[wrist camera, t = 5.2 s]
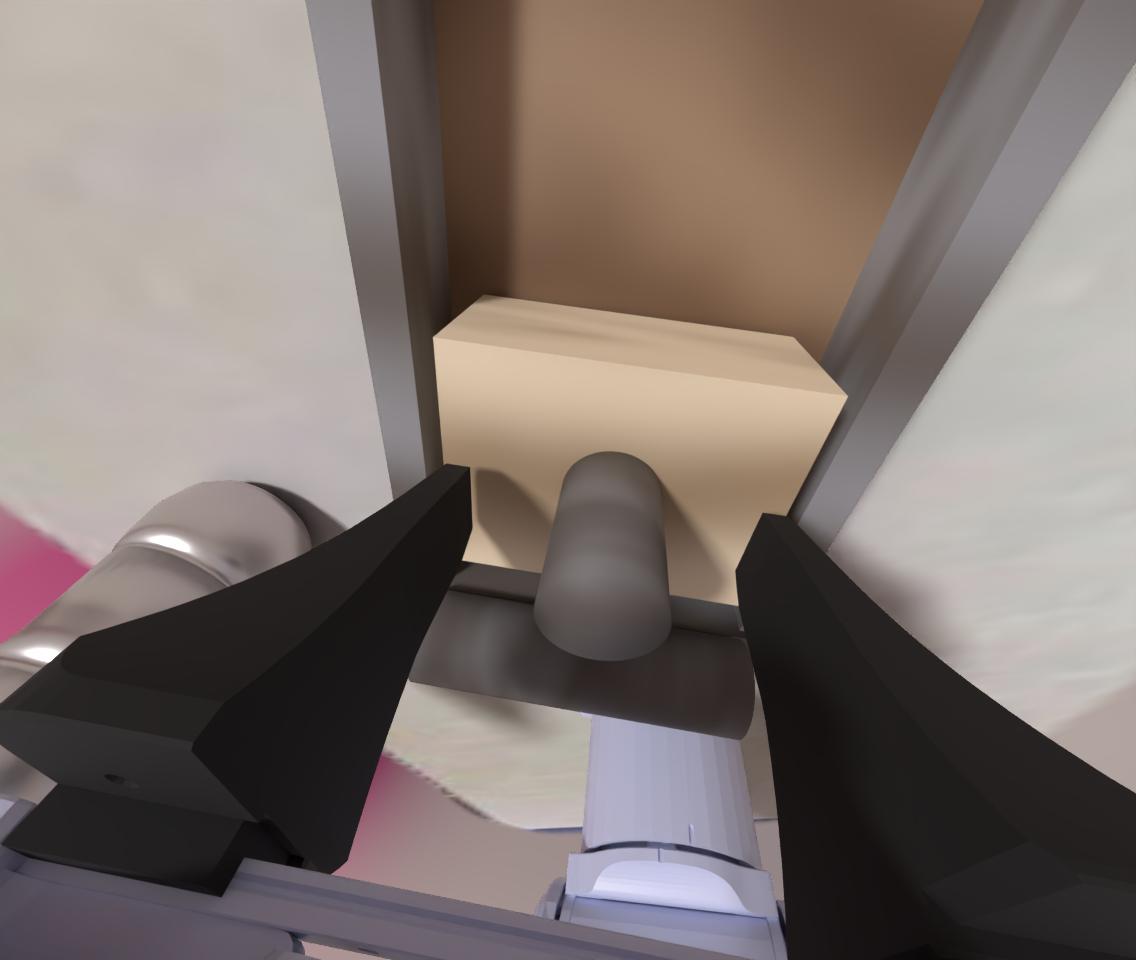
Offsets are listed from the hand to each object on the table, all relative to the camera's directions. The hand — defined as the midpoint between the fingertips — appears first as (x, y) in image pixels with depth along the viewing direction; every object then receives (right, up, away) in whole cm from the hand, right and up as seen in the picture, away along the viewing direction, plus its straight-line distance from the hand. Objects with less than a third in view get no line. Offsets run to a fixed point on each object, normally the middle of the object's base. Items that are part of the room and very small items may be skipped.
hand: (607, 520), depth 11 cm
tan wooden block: (+1, +3, +4) cm, 5 cm away
